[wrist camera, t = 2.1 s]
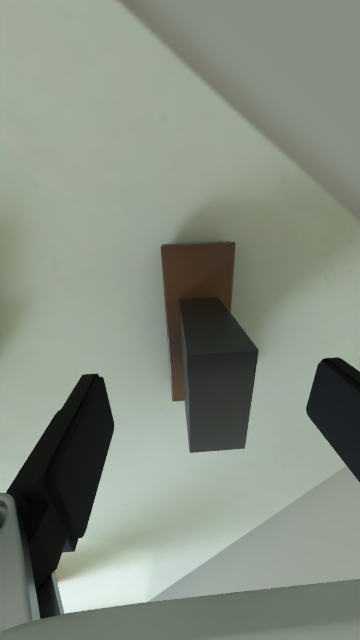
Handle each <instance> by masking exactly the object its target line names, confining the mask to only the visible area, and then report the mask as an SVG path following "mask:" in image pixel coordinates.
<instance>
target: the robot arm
mask: <svg viewBox="0 0 360 640" xmlns="http://www.w3.org/2000/svg"><path fill="white" fill-rule="evenodd" d="M306 411H307V414H308V416H309V418H310V419H311V420H312V421H313V423H314V424H315V425H316V427H317V428H318V429H319V430H320V432H321V433H322V434H323V436H324V437H325V438H326V439H327V441H328V442H329V443H330V445H331V446H332V447H333V448H334V450H335V451H336V452H337V454H338V455H339V456H340V457H341V459H342V460H343V461H344V463H345V464H346V465H347V466H348V468H349V469H350V470H351V472H352V473H353V474H354V475H355V477H356V478H357V479H358V481H359V482H360V372H359V371H358V370H356V369H355V368H354V367H352V366H351V365H349V364H348V363H347V362H345V361H344V360H342V359H341V358H325V359H323V360H322V361H321V362H320V363H319V364H318V367H317V370H316V374H315V378H314V381H313V385H312V389H311V392H310V396H309V400H308V403H307V407H306ZM113 431H114V421H113V417H112V412H111V408H110V404H109V400H108V395H107V391H106V387H105V383H104V379H103V377H99V375H98V374H86V375H82V376H81V378H80V380H79V381H78V383H77V384H76V386H75V388H74V389H73V391H72V393H71V394H70V396H69V397H68V399H67V401H66V402H65V404H64V406H63V407H62V409H61V410H59V411H58V412H57V413H56V414H55V416H54V417H53V419H52V421H51V422H50V424H49V425H48V427H47V428H46V430H45V432H44V433H43V435H42V436H41V438H40V440H39V441H38V443H37V444H36V446H35V447H34V449H33V451H32V452H31V454H30V455H29V457H28V459H27V460H26V462H25V463H24V465H23V467H22V468H21V470H20V471H19V473H18V474H17V476H16V478H15V479H14V481H13V482H12V484H11V486H10V487H9V489H8V490H7V492H6V493H0V640H360V579H356V580H347V581H337V582H327V583H318V584H308V585H299V586H290V587H281V588H271V589H263V590H253V591H244V592H235V593H226V594H218V595H208V596H200V597H191V598H182V599H174V600H164V601H156V602H147V603H138V604H131V605H124V606H116V607H109V608H102V609H95V610H88V611H81V612H73V613H67V614H64V610H63V606H62V601H61V597H60V593H59V589H58V584H57V580H56V576H55V570H56V569H57V566H58V563H59V560H60V557H61V554H62V553H63V552H73V551H75V548H76V545H77V542H78V538H82V537H83V536H84V534H85V531H86V528H87V524H88V521H89V517H90V514H91V510H92V507H93V503H94V499H95V496H96V492H97V489H98V485H99V481H100V478H101V474H102V471H103V467H104V464H105V460H106V456H107V453H108V449H109V446H110V442H111V438H112V435H113Z"/></svg>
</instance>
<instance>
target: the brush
mask: <svg viewBox="0 0 360 640" xmlns="http://www.w3.org/2000/svg"><path fill="white" fill-rule="evenodd" d="M234 254H235V243H234V242H229V241H226V242H204V243H182V244H163V245H162V246H161V255H162V268H163V282H164V295H165V309H166V323H167V336H168V350H169V363H170V377H171V390H172V401H184V400H185V410H186V420H187V431H188V441H189V451H190V453H194V452H206V451H219V450H231V449H244V448H245V444H246V436H247V429H248V422H249V415H250V408H251V400H252V393H253V386H254V379H255V372H256V364H257V357H258V348H257V347H256V346H255V345H254V343H253V342H252V341H251V339H250V338H249V337H248V335H247V334H246V333H245V331H244V330H243V329H242V327H241V326H240V325H239V324H238V322H237V321H236V320H235V318H234V317H233V316H232V314H231V299H232V284H233V269H234Z"/></svg>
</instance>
